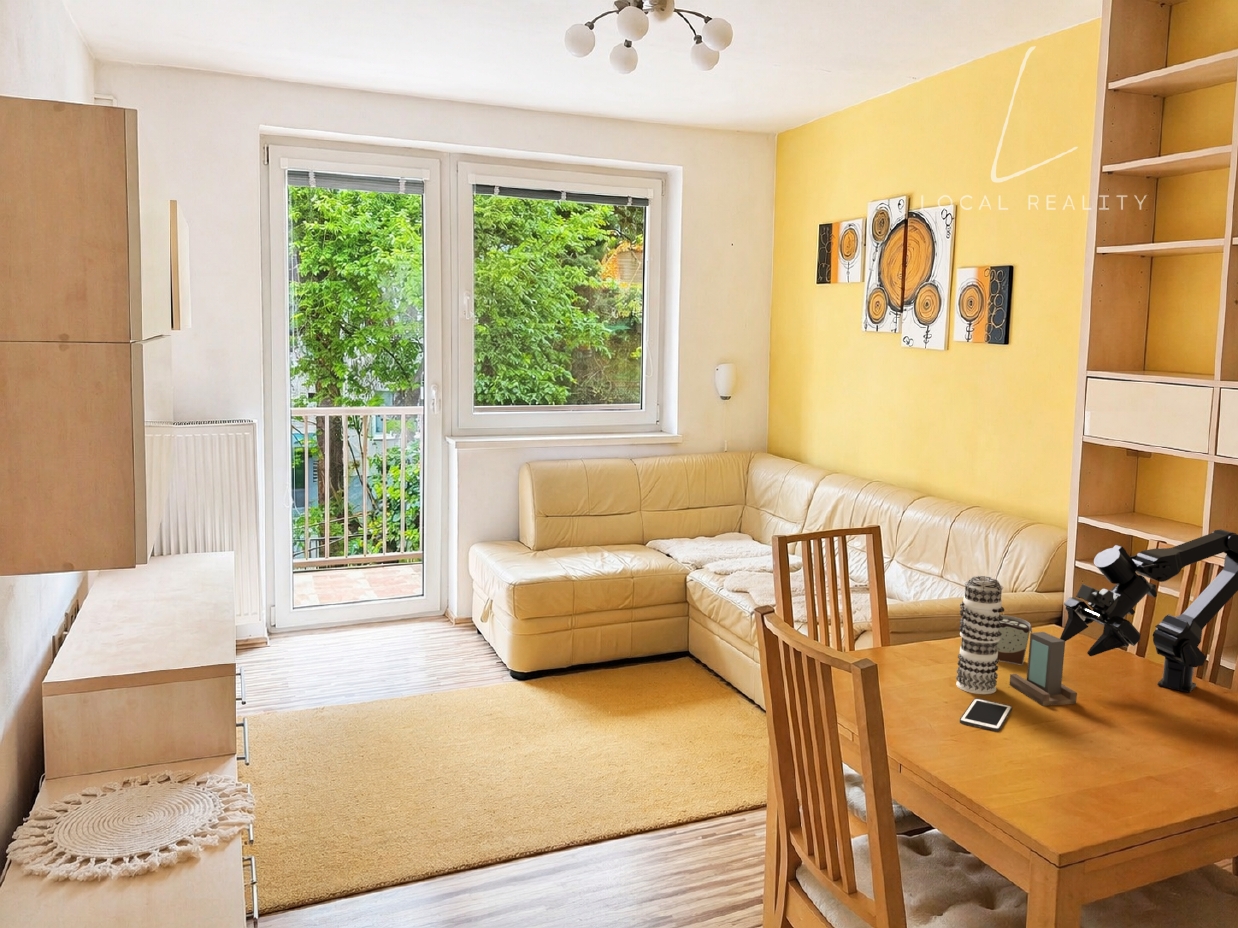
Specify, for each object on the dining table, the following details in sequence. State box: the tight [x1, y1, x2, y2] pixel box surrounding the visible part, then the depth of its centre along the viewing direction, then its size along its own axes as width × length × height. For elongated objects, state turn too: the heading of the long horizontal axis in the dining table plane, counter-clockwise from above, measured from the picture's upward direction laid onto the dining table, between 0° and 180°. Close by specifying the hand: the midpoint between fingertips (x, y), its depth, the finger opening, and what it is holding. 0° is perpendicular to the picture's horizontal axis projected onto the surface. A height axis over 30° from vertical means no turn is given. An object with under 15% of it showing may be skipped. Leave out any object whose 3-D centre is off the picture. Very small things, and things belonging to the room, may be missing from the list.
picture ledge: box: [1009, 673, 1078, 707], centre depth 206 cm, size 8×12×2 cm, turn 11°
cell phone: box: [959, 697, 1013, 733], centre depth 194 cm, size 8×15×1 cm, turn 147°
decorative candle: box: [955, 575, 1005, 695], centre depth 208 cm, size 9×9×25 cm
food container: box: [997, 614, 1033, 666], centre depth 228 cm, size 12×6×10 cm, turn 58°
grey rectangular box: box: [1026, 631, 1066, 695], centre depth 205 cm, size 4×6×12 cm, turn 17°
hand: (1074, 647), depth 206 cm, fingers open, 9 cm apart
